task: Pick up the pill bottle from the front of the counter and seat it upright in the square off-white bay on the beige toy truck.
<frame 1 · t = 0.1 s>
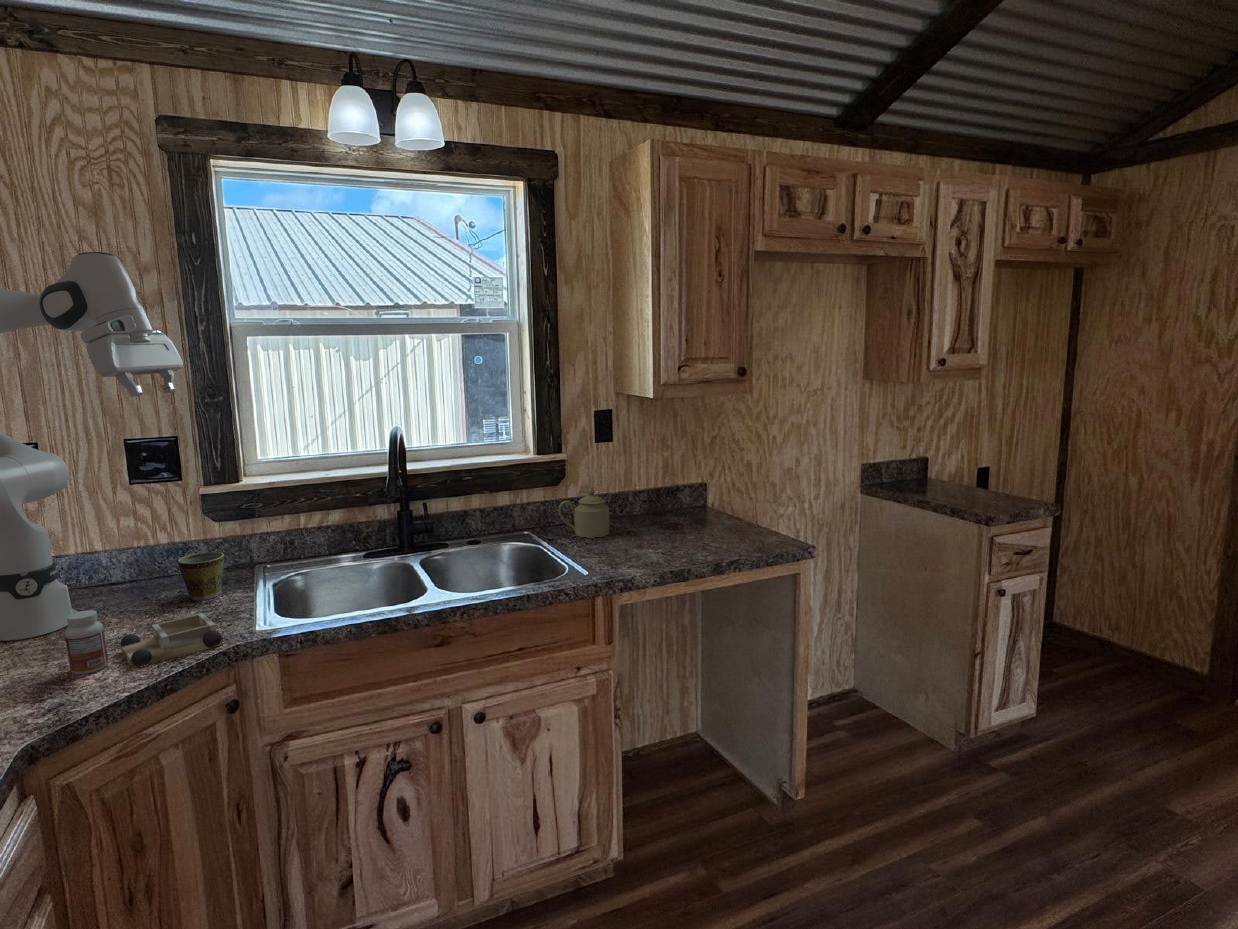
hand: (154, 393, 154), 52 cm above the worktop, tool tilted 20°, fingers open, 8 cm apart
ceramic cup: (203, 595, 188), on the worktop
pill bottle: (90, 669, 146), on the worktop
sugar bowl: (586, 535, 237), on the worktop
beige toy truck: (172, 648, 155), on the worktop
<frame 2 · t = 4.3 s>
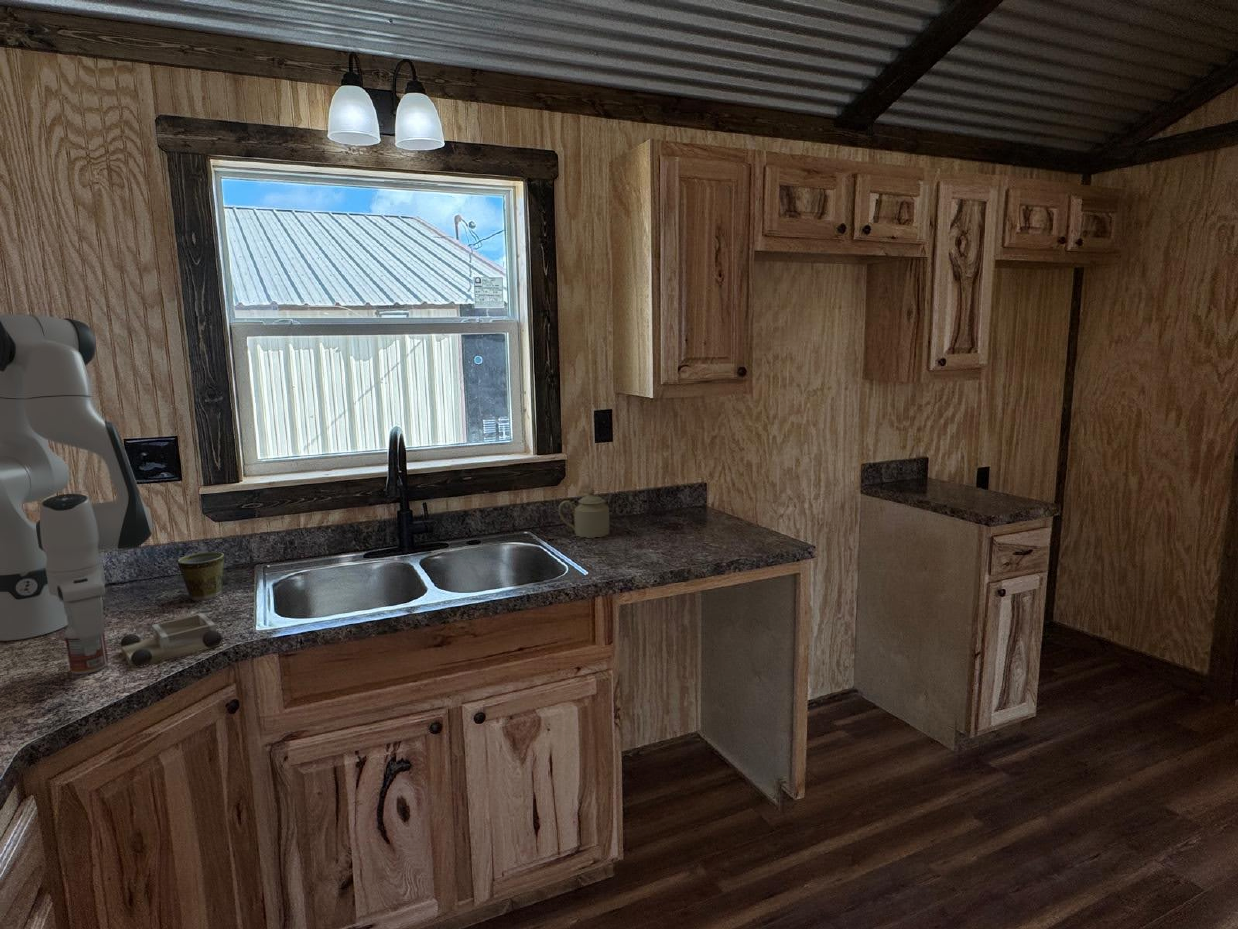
hand: (87, 648, 146), 4 cm above the worktop, tool pointing down, fingers closed on pill bottle, 6 cm apart
pill bottle: (90, 669, 146), on the worktop, touching gripper
everything else where it was.
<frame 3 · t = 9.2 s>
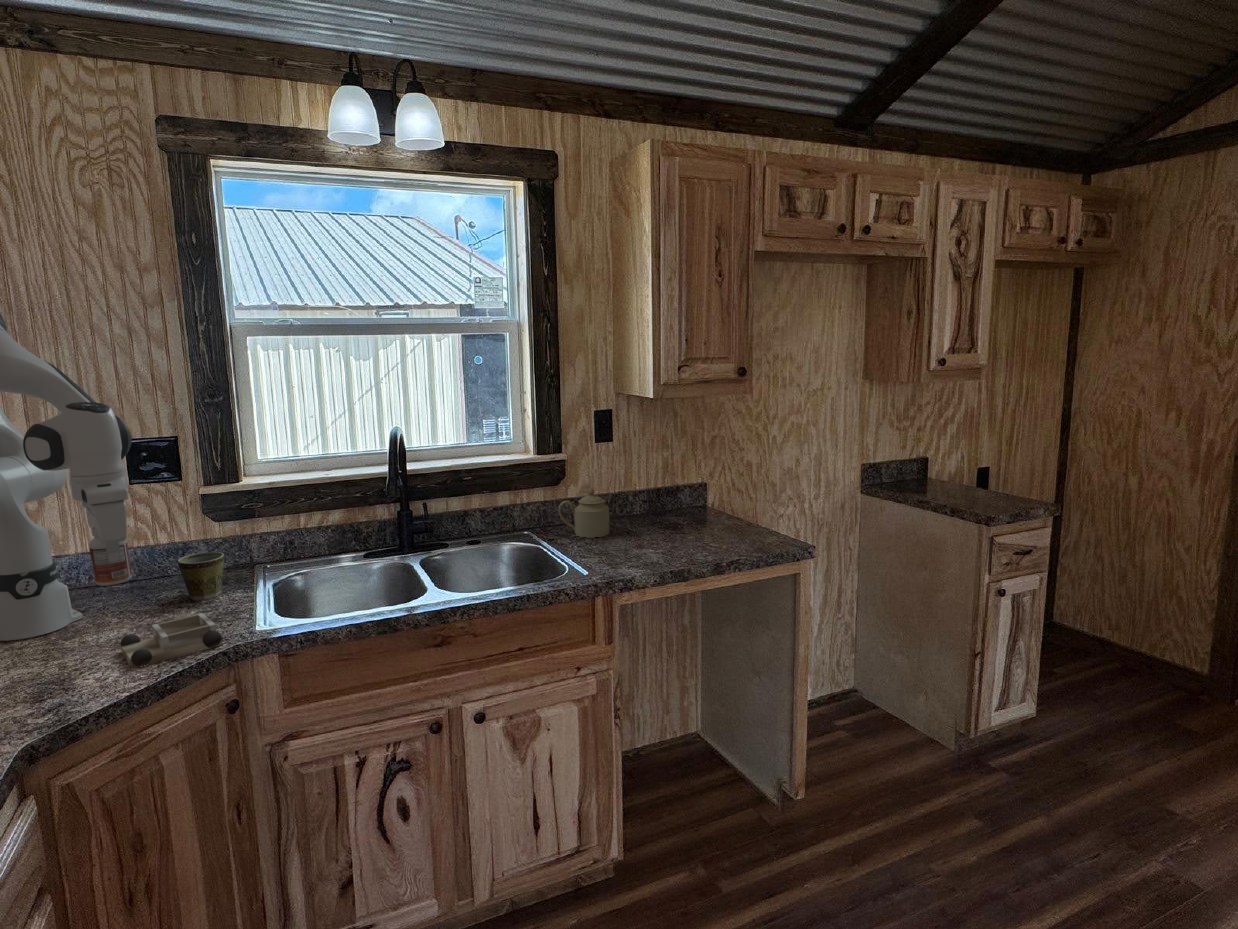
hand: (110, 557, 146), 21 cm above the worktop, tool pointing down, fingers closed on pill bottle, 6 cm apart
pill bottle: (114, 582, 147), point 16 cm above the worktop, touching gripper
everything else where it was.
when the fingers open (7 cm above the worktop, at t = 14.2 s): pill bottle stays where it is, resting on beige toy truck.
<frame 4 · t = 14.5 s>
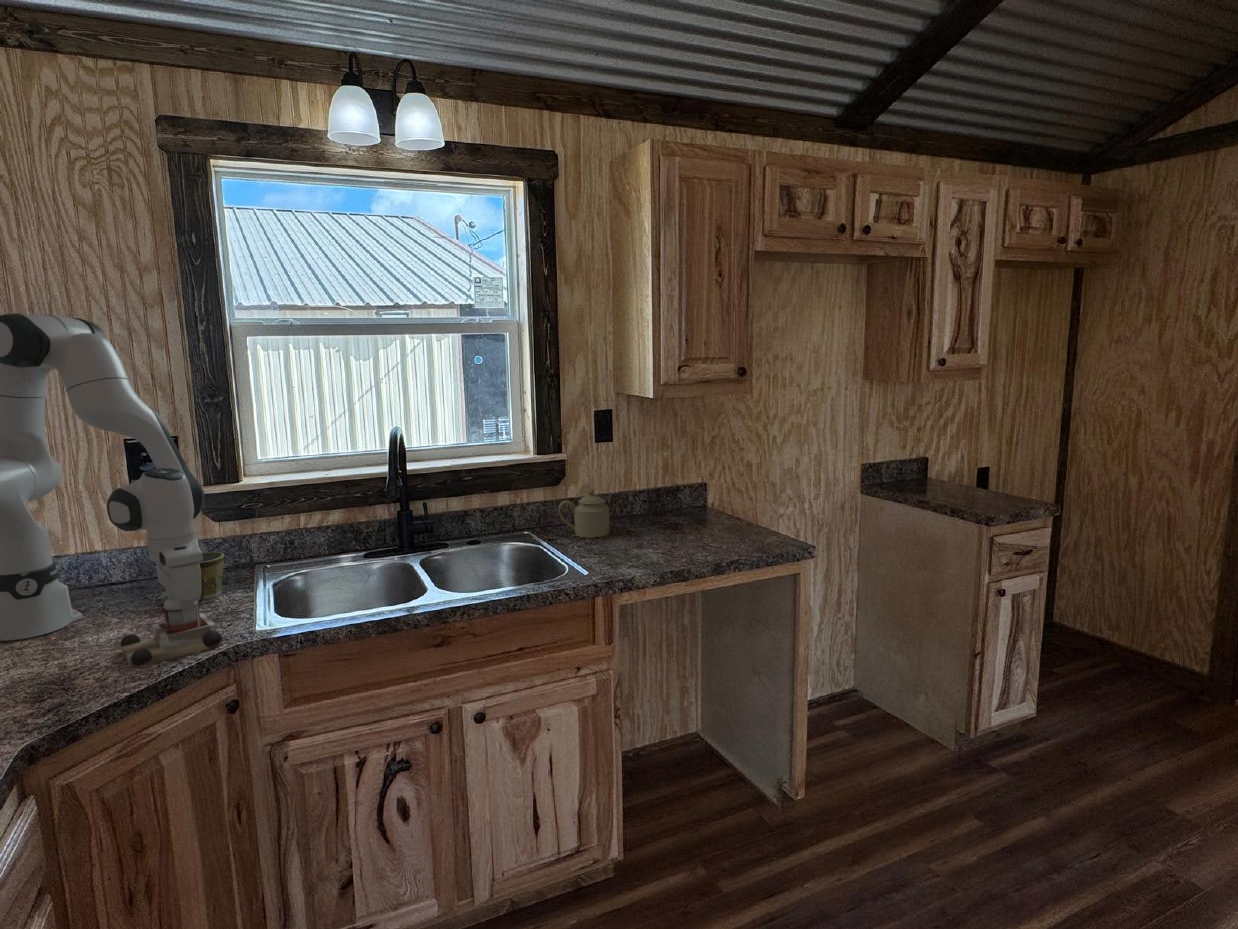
hand: (181, 612, 155), 7 cm above the worktop, tool pointing down, fingers open, 8 cm apart
pill bottle: (185, 639, 156), point 1 cm above the worktop, touching beige toy truck
everything else where it was.
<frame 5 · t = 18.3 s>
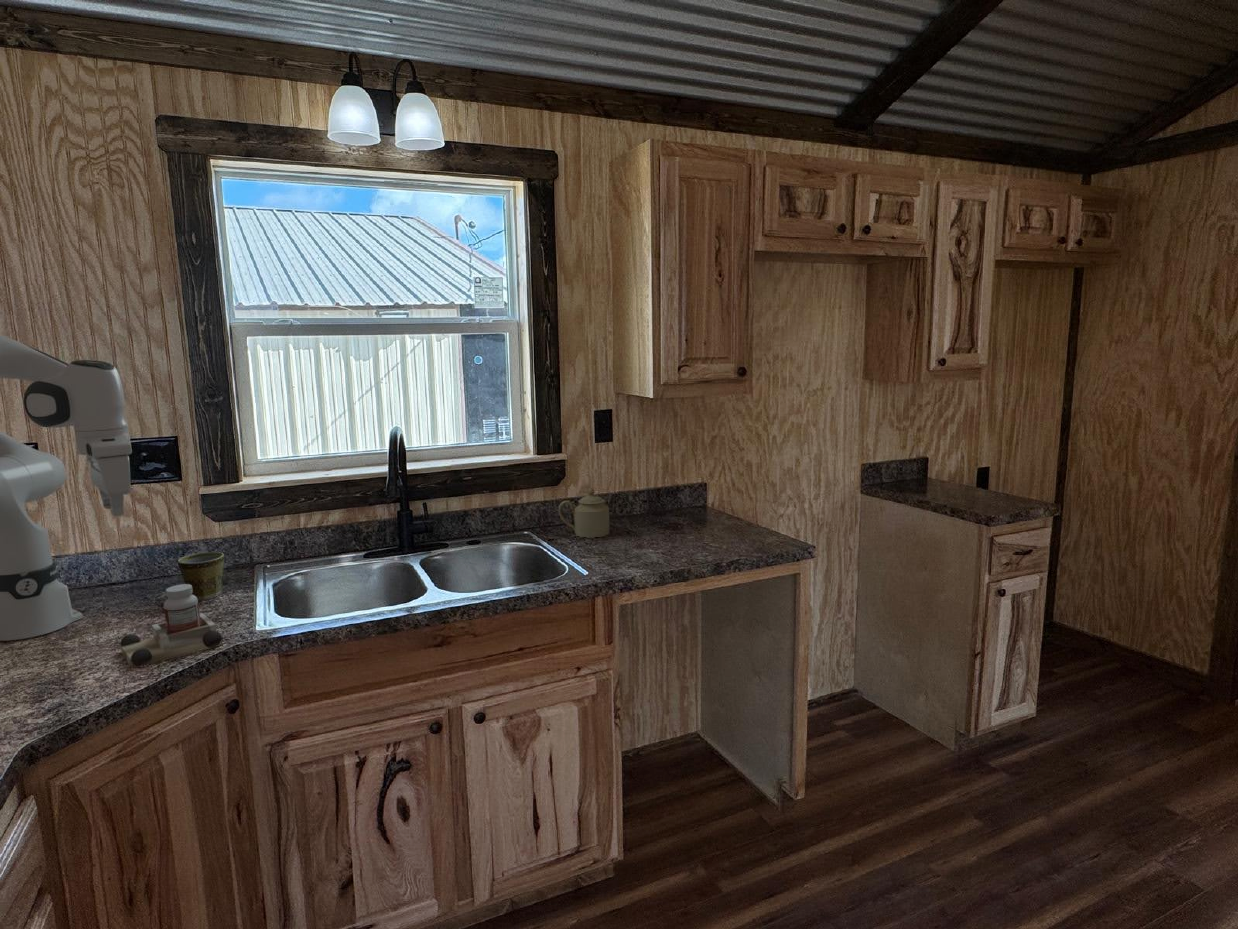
hand: (113, 511, 150), 29 cm above the worktop, tool pointing down, fingers open, 8 cm apart
nothing on the worktop moved.
at the end: pill bottle 0.2 cm from the target spot on the beige toy truck, point 1.3 cm above the beige toy truck's base; pill bottle tilted 0°; the gripper is holding nothing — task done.
